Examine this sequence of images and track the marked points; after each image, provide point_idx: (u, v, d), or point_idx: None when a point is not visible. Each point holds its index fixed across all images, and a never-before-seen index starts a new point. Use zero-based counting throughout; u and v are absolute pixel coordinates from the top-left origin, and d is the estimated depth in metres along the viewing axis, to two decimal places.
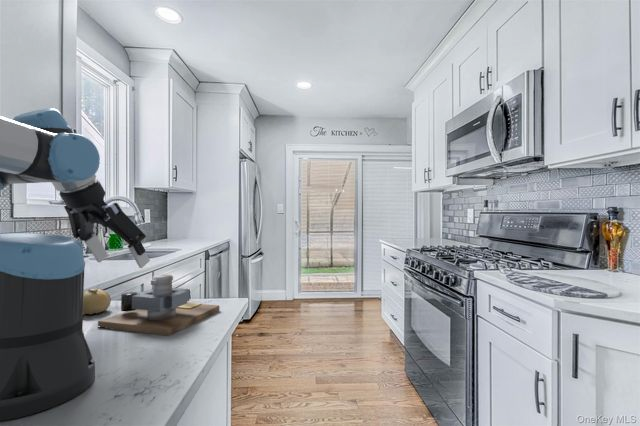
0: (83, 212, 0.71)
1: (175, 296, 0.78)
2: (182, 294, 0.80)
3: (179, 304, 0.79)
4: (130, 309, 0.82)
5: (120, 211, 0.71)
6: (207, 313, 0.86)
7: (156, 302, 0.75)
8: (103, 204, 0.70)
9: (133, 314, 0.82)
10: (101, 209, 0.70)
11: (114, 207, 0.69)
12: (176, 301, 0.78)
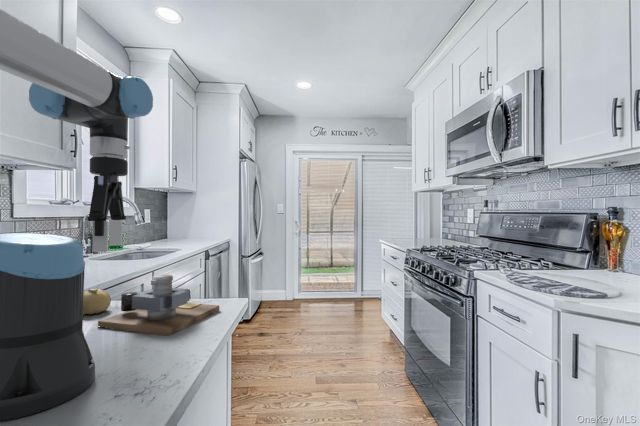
0: None
1: (175, 296, 0.78)
2: (182, 294, 0.80)
3: (179, 304, 0.79)
4: (130, 309, 0.82)
5: (104, 184, 0.70)
6: (207, 313, 0.86)
7: (156, 302, 0.75)
8: None
9: (133, 314, 0.82)
10: None
11: (101, 178, 0.70)
12: (176, 301, 0.78)
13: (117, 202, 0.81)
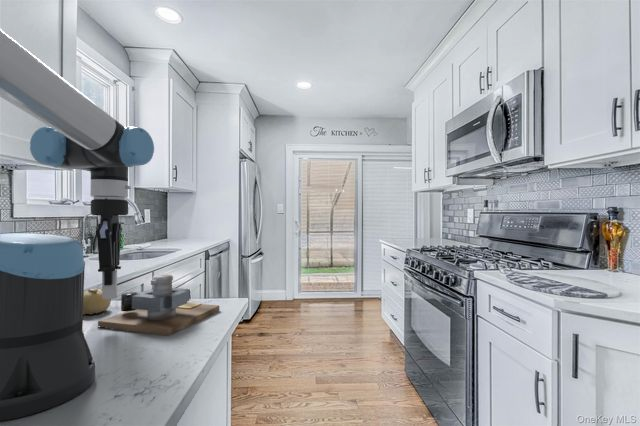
0: None
1: (175, 296, 0.78)
2: (182, 294, 0.80)
3: (179, 304, 0.79)
4: (130, 309, 0.82)
5: (107, 238, 0.72)
6: (207, 313, 0.86)
7: (156, 302, 0.75)
8: (106, 222, 0.73)
9: (133, 314, 0.82)
10: (100, 225, 0.73)
11: (102, 233, 0.71)
12: (176, 301, 0.78)
13: (115, 244, 0.78)
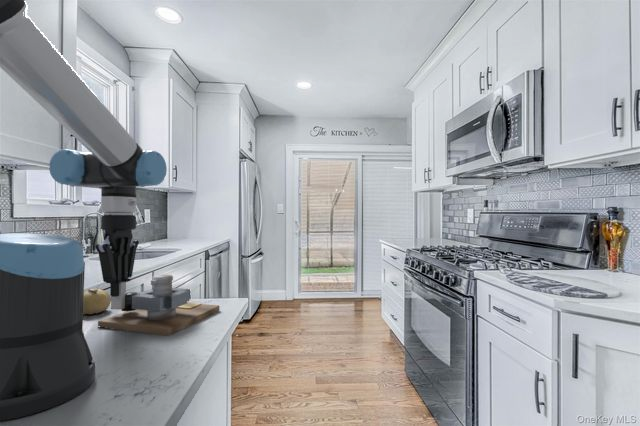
0: None
1: (175, 296, 0.78)
2: (182, 294, 0.80)
3: (179, 304, 0.79)
4: (130, 309, 0.82)
5: (106, 252, 0.76)
6: (207, 313, 0.86)
7: (156, 302, 0.75)
8: (108, 237, 0.77)
9: (133, 314, 0.82)
10: (104, 239, 0.77)
11: (101, 247, 0.75)
12: (176, 301, 0.78)
13: (123, 257, 0.82)
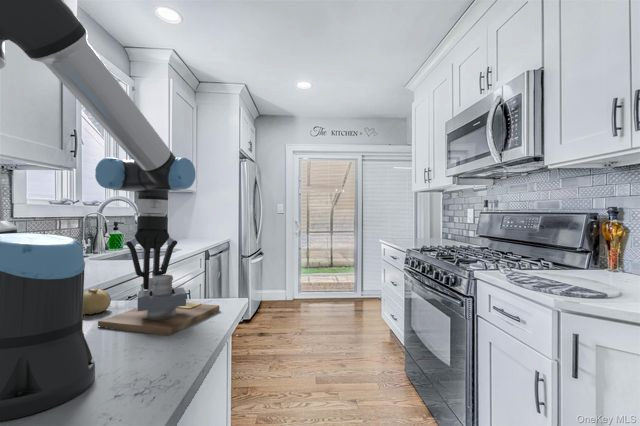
0: None
1: (155, 298, 0.75)
2: (167, 298, 0.77)
3: (162, 308, 0.76)
4: None
5: (130, 249, 0.86)
6: (207, 313, 0.86)
7: None
8: None
9: (133, 314, 0.82)
10: None
11: (126, 244, 0.86)
12: (156, 304, 0.76)
13: (154, 255, 0.89)
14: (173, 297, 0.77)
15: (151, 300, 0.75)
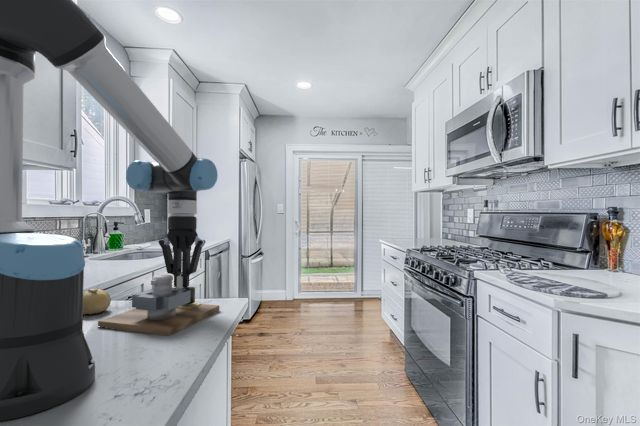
0: None
1: (140, 298, 0.76)
2: (149, 299, 0.76)
3: (145, 308, 0.76)
4: None
5: None
6: (207, 313, 0.86)
7: None
8: None
9: (133, 314, 0.82)
10: None
11: None
12: (141, 303, 0.76)
13: None
14: (154, 299, 0.75)
15: (137, 299, 0.76)
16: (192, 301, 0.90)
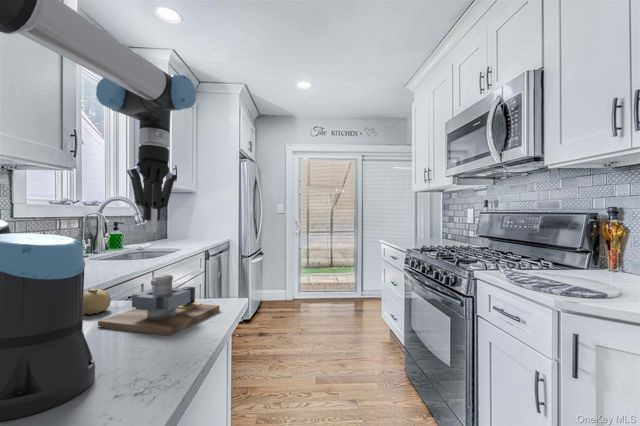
0: None
1: (140, 298, 0.76)
2: (149, 299, 0.76)
3: (145, 308, 0.76)
4: None
5: (134, 177, 0.84)
6: (207, 313, 0.86)
7: None
8: (139, 164, 0.86)
9: (133, 314, 0.82)
10: None
11: (129, 172, 0.84)
12: (141, 303, 0.76)
13: (157, 187, 0.89)
14: (154, 299, 0.75)
15: (137, 299, 0.76)
16: (192, 301, 0.90)
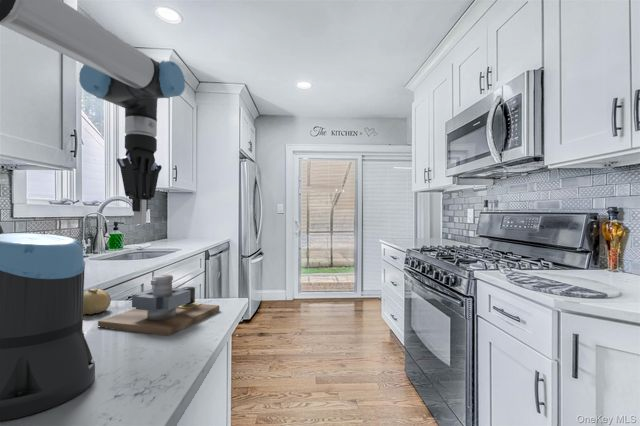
0: None
1: (140, 298, 0.76)
2: (149, 299, 0.76)
3: (145, 308, 0.76)
4: None
5: (126, 166, 0.81)
6: (207, 313, 0.86)
7: None
8: (129, 153, 0.83)
9: (133, 314, 0.82)
10: None
11: (121, 161, 0.81)
12: (141, 303, 0.76)
13: (145, 177, 0.87)
14: (154, 299, 0.75)
15: (137, 299, 0.76)
16: (192, 301, 0.90)
